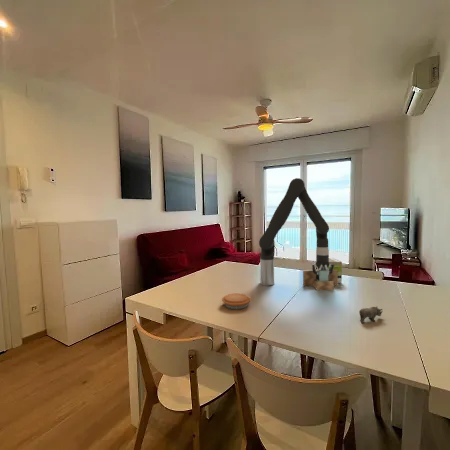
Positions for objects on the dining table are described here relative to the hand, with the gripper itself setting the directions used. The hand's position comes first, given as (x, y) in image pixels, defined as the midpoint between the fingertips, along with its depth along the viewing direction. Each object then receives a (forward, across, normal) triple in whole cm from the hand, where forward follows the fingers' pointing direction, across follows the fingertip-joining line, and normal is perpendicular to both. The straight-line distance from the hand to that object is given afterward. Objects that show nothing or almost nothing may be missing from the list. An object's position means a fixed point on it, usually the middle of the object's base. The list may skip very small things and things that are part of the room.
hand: (322, 279), depth 162 cm
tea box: (+5, +11, +16) cm, 20 cm away
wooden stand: (+5, 0, 0) cm, 5 cm away
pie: (+5, -56, -28) cm, 63 cm away
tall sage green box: (+1, 0, 0) cm, 1 cm away
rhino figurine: (+5, +5, -48) cm, 49 cm away
